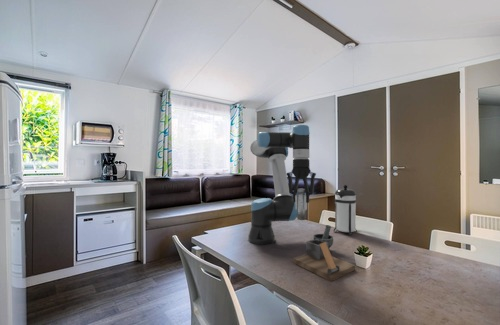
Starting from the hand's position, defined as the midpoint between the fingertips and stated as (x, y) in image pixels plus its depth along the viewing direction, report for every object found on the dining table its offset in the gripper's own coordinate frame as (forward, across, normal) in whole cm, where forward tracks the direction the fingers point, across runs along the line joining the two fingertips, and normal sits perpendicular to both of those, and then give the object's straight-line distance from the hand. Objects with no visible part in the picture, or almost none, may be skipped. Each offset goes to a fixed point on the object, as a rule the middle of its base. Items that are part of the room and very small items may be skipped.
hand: (301, 209), depth 111 cm
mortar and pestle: (+23, +8, +17) cm, 30 cm away
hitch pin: (+5, 0, 0) cm, 5 cm away
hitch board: (+23, +10, -3) cm, 26 cm away
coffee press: (+22, +16, +55) cm, 61 cm away
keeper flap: (+17, +13, -10) cm, 23 cm away
